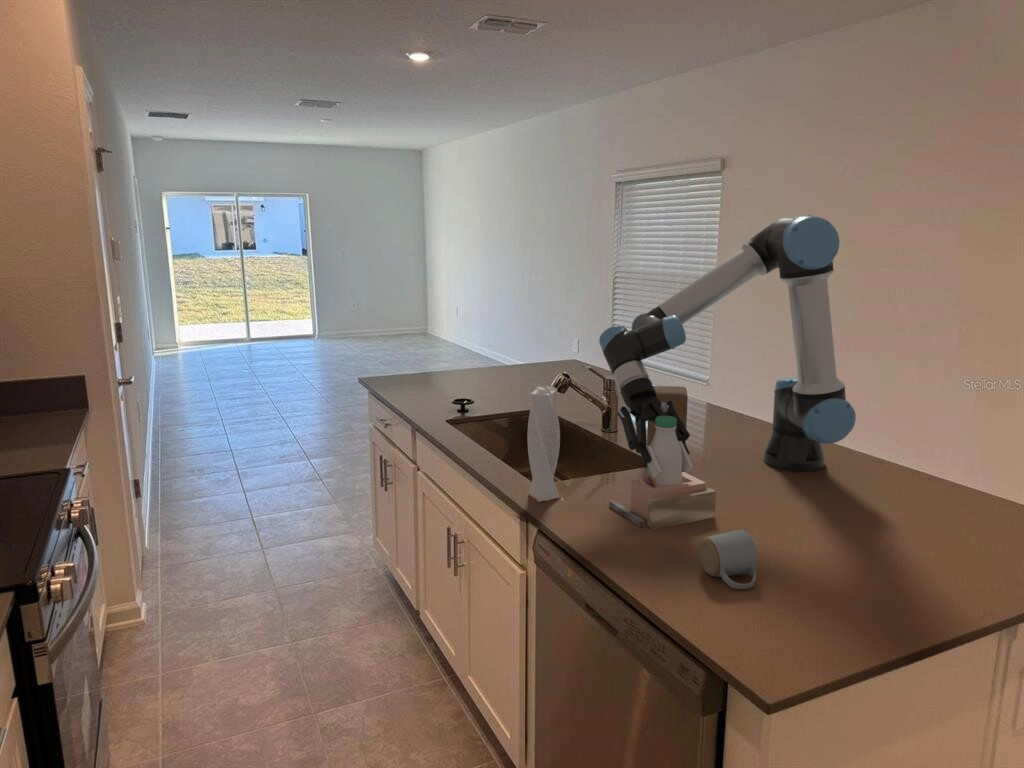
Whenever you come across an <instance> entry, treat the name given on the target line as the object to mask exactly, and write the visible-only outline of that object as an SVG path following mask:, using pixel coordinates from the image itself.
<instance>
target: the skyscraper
mask: <svg viewBox="0 0 1024 768" xmlns="http://www.w3.org/2000/svg"><path fill="white" fill-rule="evenodd" d="M530 386H535V387H534V390H533V391H532V392H531V389H530ZM526 388H527V391H528V394H529V399H530V403H531V405H530V410H529V416H528V423H527V434H526V436H527V437H526V438H527V452H528V462H529V467H530V471H531V472H530V473H531V475H532V480H531V484H530V488H529V492H528V494H529V493H531V494H533V495H534V496H535V497H536V498H538V500H540V499H547V498H555V497H559V498H560V495H559V492H558V488H557V485H556V482H555V479H554V478H555V477H554V476H555V472H556V468H557V464H558V461H559V460H558V459H559V454H560V448H561V447H560V446H561V445H560V444H561V429H560V428H561V427H560V422H559V415H558V411H557V407H556V403H555V401H556V398H557V394H558V388H557V387H555V386H550V385H543V384H540V383H536V382H529V383H527V384H526Z"/></svg>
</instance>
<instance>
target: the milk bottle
mask: <svg viewBox="0 0 1024 768" xmlns="http://www.w3.org/2000/svg"><path fill="white" fill-rule="evenodd" d="M676 425H677V419H676V418H675V417H672V416H658V417H656V418H655V428H656V432H655V436H654V438H653V440H652V442H651V444H650V446H651V448H652V450H653V452H654V454H655V457H656V459H657V461H658V463H659V466H660V468H661V470H662V473H661V474H660V475H659V476H658V477H657V478H654V477H653V475H652V473H651V470H650V468H649V466H648V463H646V477H645V479H646V480H645V483H646V484H648V485H650V486H652V487H653V488H658V487H664V486H669V485H675V484H681V483H682V472H683V467H682V451H681V447H680V445H679V442H678V440H677V437H676V433H675V429H676V428H677V427H676Z"/></svg>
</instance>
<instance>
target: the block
mask: <svg viewBox="0 0 1024 768" xmlns="http://www.w3.org/2000/svg"><path fill="white" fill-rule="evenodd" d="M653 387H654V389H655V391H656V397H657V398H658V399H659V400H660V402H662V403H667V402H668V401H671V402H672V403H673V407H674V410H675V412H676V413H677V415H678V416H679V418H680V420H681V421H682V423H683V424H684V426H685V428H686V429H687V423H688V422H687V420H688V400H689V399H688V398H689V397H688V390H687V388H686V387H685V386H680V385H679V386H678V385H677V386H676V385H675V386H674V385H673V386H672V385H670V386H669V385H653ZM660 409H661V408H660ZM661 410H662V409H661ZM662 411H663V410H662ZM664 414H665V413H664ZM655 432H656V428H655V423H654V422H653V421H647V427H646V441H647V445H646V447H647V446H650V444H651V442H652V440H653V438H654V436H655ZM677 439H678V438H677ZM685 444H686V445H687V440H686V441H685Z"/></svg>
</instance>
